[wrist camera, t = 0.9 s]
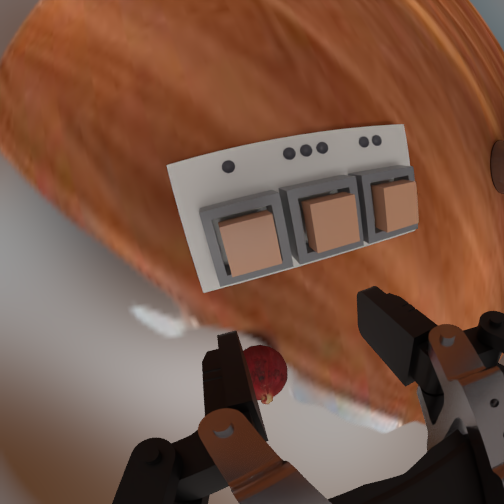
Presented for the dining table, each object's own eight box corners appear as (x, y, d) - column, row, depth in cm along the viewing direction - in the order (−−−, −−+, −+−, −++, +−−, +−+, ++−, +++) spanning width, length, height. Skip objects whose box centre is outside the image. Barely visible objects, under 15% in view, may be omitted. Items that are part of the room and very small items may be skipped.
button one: (266, 209, 22) (272, 214, 21) (276, 255, 24) (282, 263, 22) (217, 222, 22) (219, 227, 20) (230, 268, 23) (232, 277, 21)
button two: (402, 179, 24) (415, 181, 22) (406, 218, 25) (418, 222, 23) (371, 185, 23) (383, 188, 21) (375, 227, 25) (387, 232, 23)
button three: (343, 191, 23) (354, 194, 21) (348, 235, 24) (360, 240, 22) (301, 201, 23) (309, 204, 21) (309, 246, 24) (317, 253, 22)
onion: (225, 336, 30) (233, 386, 22) (276, 327, 31) (297, 373, 23) (233, 373, 32) (242, 423, 24) (279, 364, 33) (298, 411, 25)
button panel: (392, 125, 26) (418, 122, 22) (404, 226, 30) (429, 236, 26) (169, 165, 24) (161, 165, 19) (203, 284, 28) (203, 305, 23)
